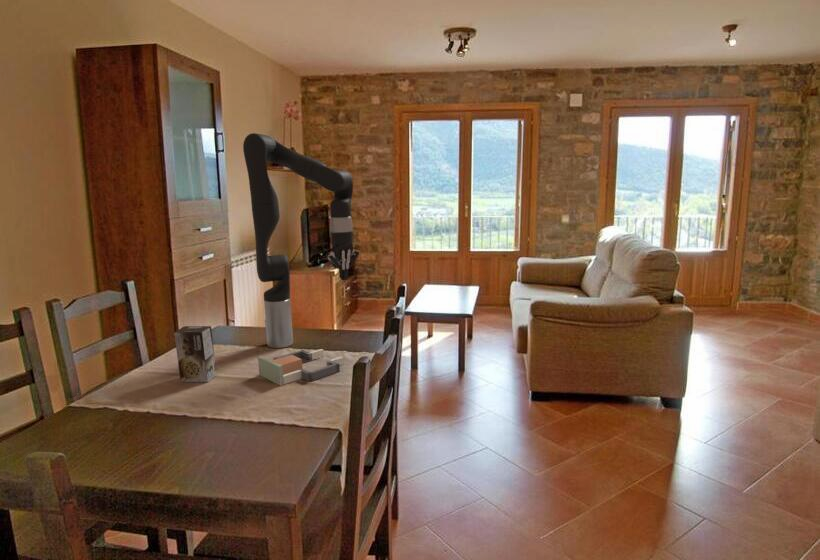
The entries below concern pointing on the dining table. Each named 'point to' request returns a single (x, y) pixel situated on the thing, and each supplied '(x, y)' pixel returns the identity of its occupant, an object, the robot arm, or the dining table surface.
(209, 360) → the coffee box
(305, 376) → the box
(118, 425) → the dining table surface
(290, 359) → the terracotta block
